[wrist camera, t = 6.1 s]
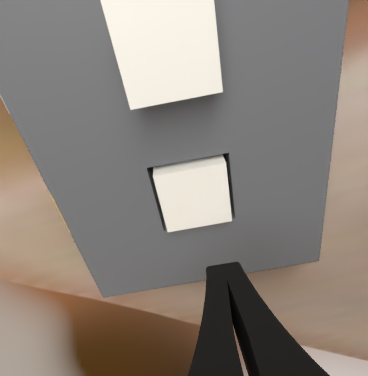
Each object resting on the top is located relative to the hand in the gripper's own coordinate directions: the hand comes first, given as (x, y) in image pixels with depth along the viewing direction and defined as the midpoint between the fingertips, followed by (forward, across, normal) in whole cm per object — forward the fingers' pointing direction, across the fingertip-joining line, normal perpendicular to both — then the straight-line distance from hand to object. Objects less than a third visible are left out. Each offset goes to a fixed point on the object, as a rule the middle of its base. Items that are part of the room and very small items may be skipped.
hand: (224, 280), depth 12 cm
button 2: (+8, +1, -1) cm, 8 cm away
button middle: (+7, +1, -9) cm, 11 cm away
